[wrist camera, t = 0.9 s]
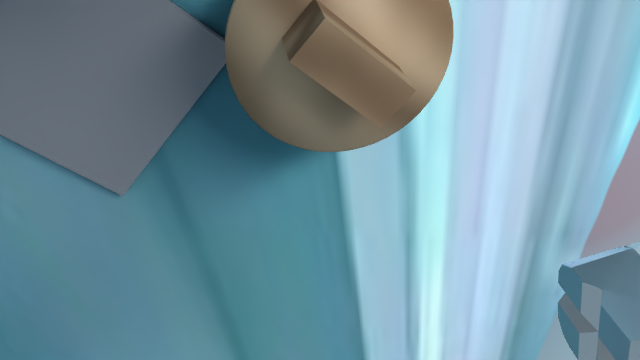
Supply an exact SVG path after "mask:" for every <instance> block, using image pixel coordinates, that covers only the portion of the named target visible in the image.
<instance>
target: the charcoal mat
mask: <svg viewBox="0 0 640 360" xmlns="http://www.w3.org/2000/svg"><path fill="white" fill-rule="evenodd" d="M225 63H226V56H225V39H224V38H222V37H221V36H220V35H218V34H217V33H215V32H214V31H213V30H211V29H210V28H208V27H207V26H205V25H204V24H203V23H201V22H200V21H198V20H197V19H195V18H194V17H193V16H191V15H190V14H188V13H187V12H185V11H184V10H183V9H181V8H180V7H178V6H177V5H176V4H174V3H173V2H171V1H170V0H0V135H2V136H4V137H6V138H8V139H10V140H12V141H14V142H16V143H18V144H20V145H22V146H24V147H26V148H28V149H30V150H32V151H34V152H36V153H38V154H40V155H42V156H44V157H46V158H48V159H50V160H52V161H54V162H56V163H58V164H60V165H61V166H63V167H65V168H67V169H69V170H71V171H73V172H75V173H77V174H79V175H81V176H83V177H85V178H87V179H89V180H91V181H93V182H95V183H97V184H99V185H101V186H103V187H105V188H107V189H109V190H111V191H113V192H115V193H117V194H119V195H121V196H123V195H124V194H125V193H126V191H127V190H128V189H129V187H130V186H131V185H132V184H133V182H134V181H135V180H136V178H137V177H138V176H139V174H140V173H141V172H142V171H143V169H144V168H145V167H146V165H147V164H148V163H149V162H150V160H151V159H152V158H153V156H154V155H155V154H156V153H157V151H158V150H159V149H160V147H161V146H162V145H163V144H164V142H165V141H166V140H167V138H168V137H169V136H170V134H171V133H172V132H173V131H174V129H175V128H176V127H177V125H178V124H179V123H180V122H181V120H182V119H183V118H184V116H185V115H186V114H187V113H188V111H189V110H190V109H191V107H192V106H193V105H194V104H195V102H196V101H197V100H198V98H199V97H200V96H201V94H202V93H203V92H204V91H205V89H206V88H207V87H208V85H209V84H210V83H211V82H212V80H213V79H214V78H215V76H216V75H217V74H218V73H219V71H220V70H221V69H222V67H223V66H224V65H225Z"/></svg>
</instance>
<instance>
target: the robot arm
mask: <svg viewBox="0 0 640 360" xmlns="http://www.w3.org/2000/svg"><path fill="white" fill-rule="evenodd" d="M558 283H559V284H560V286H561V287H562V288H563V290H564V291H565V294H564V295H563V297H562V298H561V299H560V301H559V302H558V318H559V321H560V325H561V328H562V332H563V335H564V337H565V339H566V341H567V343H568V344H569V347H570V348H571V350H572V351H573V353H574V354H575V356H576V357H577V359H578V360H640V242H637V243H633V244H630V245H627V246H624V247H618V248H615V249H612V250H609V251H605V252H602V253H599V254H595V255H592V256H589V257H585V258H582V259H579V260H576V261H572V262H569V263H566V264H562V266H561V268H560V270H559V278H558Z"/></svg>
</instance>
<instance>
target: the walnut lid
mask: <svg viewBox="0 0 640 360" xmlns="http://www.w3.org/2000/svg"><path fill="white" fill-rule="evenodd" d="M452 44H453V19H452V12H451V7H450V4H449V0H234V1H233V3H232V6H231V9H230V12H229V16H228V19H227V25H226V31H225V56H226V65H227V71H228V75H229V79H230V83H231V85H232V88H233V90H234V93H235V95H236V97H237V99H238V100H239V102H240V104H241V105H242V107H243V109H244V110H245V111H246V112H247V114H248V115H249V116H250V117H251V119H252V120H254V121H255V122H256V123H257V124H258V125H259V126H260V127H261V128H262V129H263V130H265V131H266V132H268V133H269V134H270V135H272V136H274V137H275V138H277V139H279V140H281V141H283V142H285V143H288V144H290V145H293V146H295V147H299V148H303V149H307V150H313V151H320V152H338V151H348V150H353V149H357V148H362V147H365V146H368V145H371V144H374V143H376V142H378V141H380V140H383V139H385V138H387V137H389V136H390V135H392V134H394V133H395V132H397V131H399V130H400V129H401V128H403V127H404V126H405V125H407V124H408V123H409V122H410V121H411V120H413V119H414V118H415V117H416V116H417V115H418V114H419V113H420V112H421V111H422V109H423V108H424V107H425V106H426V105H427V104H428V102H429V101H430V100H431V98H432V97H433V95H434V94H435V92H436V91H437V89H438V87H439V85H440V83H441V81H442V79H443V77H444V75H445V72H446V69H447V67H448V64H449V60H450V56H451V52H452Z"/></svg>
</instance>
